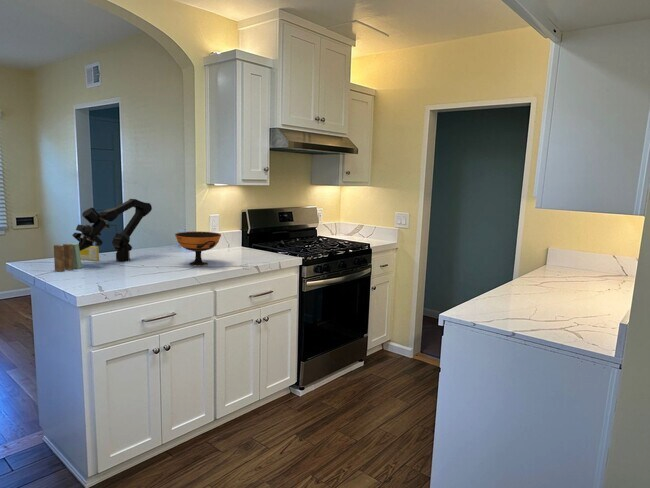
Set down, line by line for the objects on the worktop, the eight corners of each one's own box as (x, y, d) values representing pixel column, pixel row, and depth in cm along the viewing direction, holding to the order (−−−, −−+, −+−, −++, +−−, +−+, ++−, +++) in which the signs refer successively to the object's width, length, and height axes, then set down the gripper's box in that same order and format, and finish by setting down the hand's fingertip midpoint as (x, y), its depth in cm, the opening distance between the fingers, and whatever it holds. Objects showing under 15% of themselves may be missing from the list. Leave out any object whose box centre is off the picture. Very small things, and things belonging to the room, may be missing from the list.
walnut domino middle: (67, 268, 237) (66, 243, 235) (73, 269, 235) (72, 244, 233) (63, 268, 235) (62, 244, 234) (69, 270, 233) (68, 245, 231)
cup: (165, 260, 268) (165, 231, 266) (206, 257, 284) (206, 229, 281) (188, 272, 240) (188, 239, 238) (232, 268, 256) (232, 237, 253)
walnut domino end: (58, 269, 233) (57, 244, 231) (64, 271, 231) (63, 245, 229) (54, 270, 231) (53, 245, 230) (60, 271, 229) (59, 246, 227)
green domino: (76, 266, 241) (72, 242, 238) (82, 267, 239) (78, 244, 236) (72, 267, 240) (69, 243, 236) (78, 268, 237) (74, 244, 234)
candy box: (99, 260, 261) (99, 246, 260) (97, 261, 259) (96, 247, 257) (73, 259, 262) (72, 244, 261) (70, 259, 260) (70, 245, 259)
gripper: (75, 217, 245) (55, 239, 237) (97, 220, 236) (77, 243, 228) (89, 231, 253) (70, 252, 245) (110, 234, 244) (92, 256, 236)
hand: (77, 251), depth 238 cm, fingers closed
